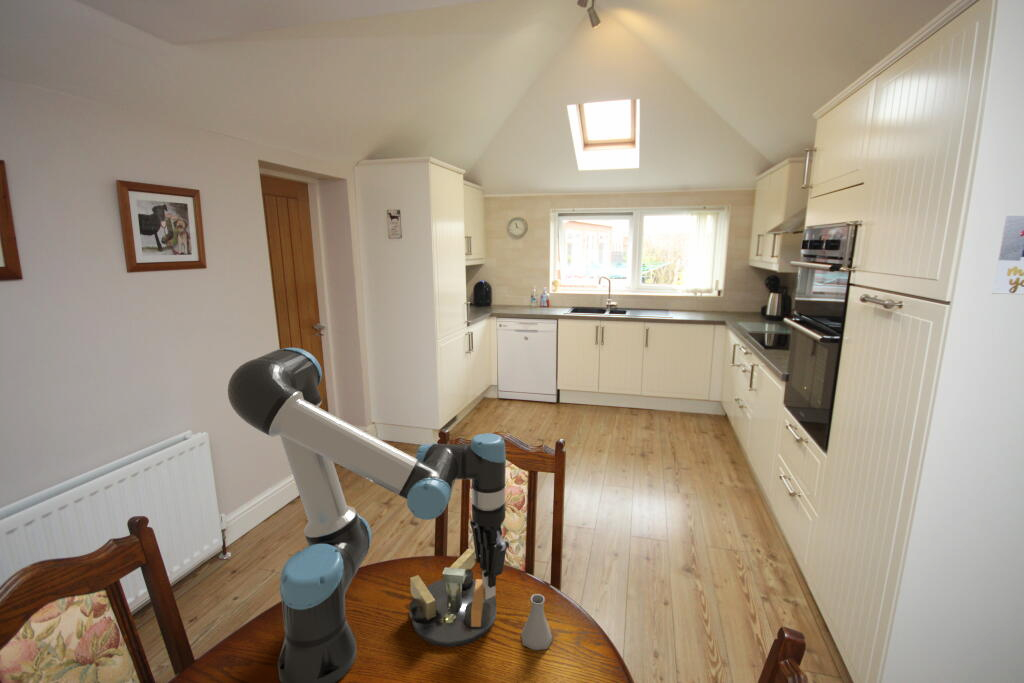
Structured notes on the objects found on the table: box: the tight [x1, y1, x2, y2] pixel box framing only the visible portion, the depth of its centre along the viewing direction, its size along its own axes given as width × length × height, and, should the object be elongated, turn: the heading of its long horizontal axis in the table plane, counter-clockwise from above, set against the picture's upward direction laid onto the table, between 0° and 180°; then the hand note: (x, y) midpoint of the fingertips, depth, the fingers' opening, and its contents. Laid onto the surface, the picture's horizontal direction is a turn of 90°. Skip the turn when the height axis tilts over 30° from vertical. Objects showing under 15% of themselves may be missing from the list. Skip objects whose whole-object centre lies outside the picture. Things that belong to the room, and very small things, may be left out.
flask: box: [520, 593, 554, 651], centre depth 105 cm, size 7×7×10 cm
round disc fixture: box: [409, 547, 497, 648], centre depth 113 cm, size 20×22×11 cm
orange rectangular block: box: [465, 578, 491, 629], centre depth 108 cm, size 10×6×6 cm, turn 178°
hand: (488, 595), depth 110 cm, fingers closed
